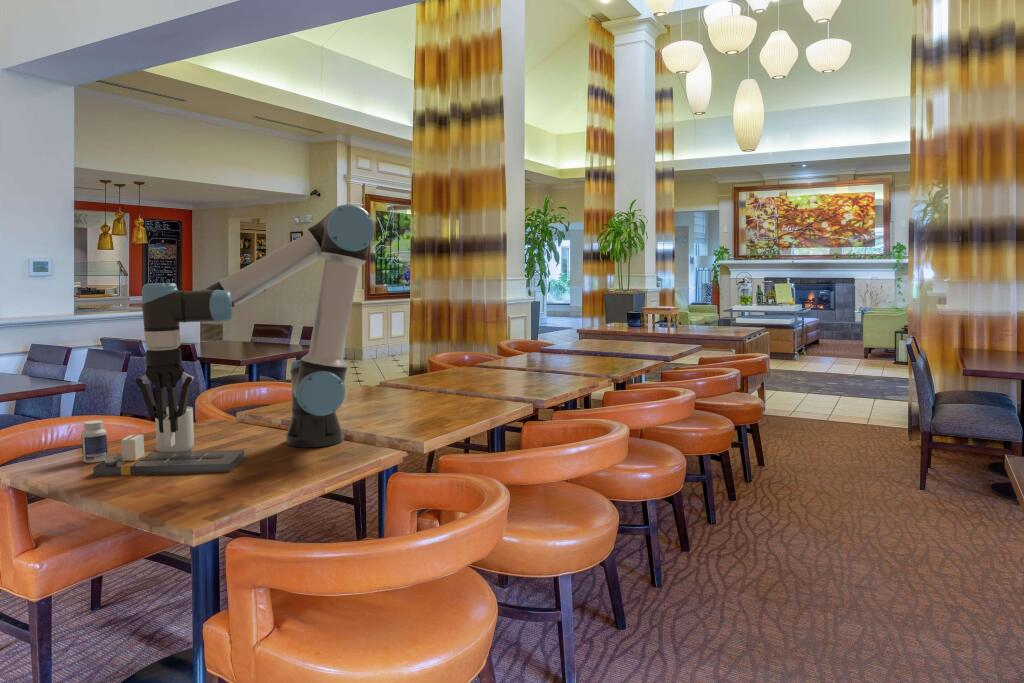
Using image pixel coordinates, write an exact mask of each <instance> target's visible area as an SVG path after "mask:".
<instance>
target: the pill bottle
mask: <svg viewBox="0 0 1024 683" xmlns="http://www.w3.org/2000/svg"><path fill="white" fill-rule="evenodd" d="M83 428H84V431H82V432H81V434H80V436H81V452H82V453H81V454H82V461H83V463H87V464H90V463H98V462H99V463H100V462H104V461H105V456H109V454H108V452H109V451H108V434H107V430H106V429H104V421H103V420H88V421H85V422H84V423H83Z"/></svg>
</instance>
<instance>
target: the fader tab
mask: <svg viewBox="0 0 1024 683" xmlns="http://www.w3.org/2000/svg"><path fill="white" fill-rule="evenodd" d="M144 436H145V435H144V434H130V435H128V436H126V437H124V438H123V439H121V442H120V444H121V453H122V461H129V460H137V459H139V458H140V457H142V456H143V455H144V452H145V440H144Z"/></svg>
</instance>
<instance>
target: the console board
mask: <svg viewBox="0 0 1024 683" xmlns="http://www.w3.org/2000/svg"><path fill="white" fill-rule="evenodd" d="M244 459H245V449H228V450H227V449H226V450H225V449H224V450H223V449H222V450H190V451H181V452H159V451H154V452H153V451H144V455H143V456H142V457H140V458H139V459H137V460H129V461H122V452H117V453H116V454H110V455H109V454H108V456H105V460H104V461H101V463H100V462H99V464H97V465H96V466H94V467H92V470H93V471H92V472H93V473H92V474H93V477H109V476H113V477H114V476H140V475H141V476H143V475H170V474H171V475H172V474H175V475H176V474H205V473H206V474H207V473H231V472H232V471H233V470H234V469H235V468H236V467H237V466H238V465H239V464H240V463H241V461H242V460H244Z"/></svg>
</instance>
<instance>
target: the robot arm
mask: <svg viewBox="0 0 1024 683" xmlns="http://www.w3.org/2000/svg"><path fill="white" fill-rule="evenodd" d="M375 230H376V228H375V222H374V219H373V218H372V215H370V213H369V212H368V211H367V210H365V208H363V207H361V206H358V205H356V204H341V205H338V206H336V207H334V209H332V210H331V211H330V212H328V213H327V214H326V215H325V216H324V217H323V218H321V220H319V221H317V222H316V223H315V224H314V225H312V226H310V227H308V228H306V229H305V230H304V231H305V232H304V235H301V236H300V237H298V238H296V239H295V240H293V241H291V242H289V243H287V244H285V245H283V246H282V247H279V248H277V249H276V250H274V251H272V252H270V253H269V254H267V255H265V256H263V257H261V258H259V259H257V260H256V261H254V262H252V263H250V264H248V265H247V266H244V267H242V268H241V269H239V270H237V271H236V272H234V273H232V274H230V275H228V276H227V277H224V278H222V279H221V280H219V281H218V282H215V283H213V284H211V285H210V286H207V287H205V288H204V289H201V290H189V291H188V290H179V289H178V286H177V284H176V283H175V282H172V283H171V282H167V283H166V282H164V283H163V282H161V283H160V282H159V283H158V282H156V283H155V282H154V283H145V284H144V285H143V286H142V288H141V307H142V320H143V331H144V347H145V348H146V349H147V350H146V351H145V361H146V362H145V363H146V370H145V371H144V375H142V376H140V377H139V378H136V379H135V380H134V381H135V383H136V385H137V386H138V387H139V389H140V391H141V395H142V398H143V400H144V403H145V406H146V408H147V412H148V415H149V417H150V418H152V419H153V418H154V419H155V418H157V419H158V420H159V431H160V433H164V446H165V447H172V446H173V445H174V444H175V434H174V432H176V431H178V417H180V416H182V415H184V414H185V413H186V408H187V406H188V403H189V397H190V391H191V386H192V384H193V382H194V381H195V379H196V377H195V375H190V374H188V373H186V372H185V371H186V370H185V369H184V367H183V364H182V362H183V360H182V349H181V348H180V346H181V333H180V332H181V331H180V323H201V322H202V323H203V322H216V323H219V322H224V321H231V320H232V319H233V308H235V307H236V306H238V305H240V304H241V303H244V302H245V301H247V300H249V299H251V298H252V297H254V296H256V295H258V294H260V293H262V292H263V291H266V290H267V289H269V288H271V287H272V286H275V285H276V284H278V283H279V282H281V281H283V280H286V279H287V278H289V277H291V276H292V275H294V274H296V273H298V272H299V271H302V270H304V269H305V268H307V267H309V266H311V265H312V264H315V263H316V262H318V261H323V262H324V265H323V270H322V276H321V283H320V288H319V294H318V298H317V304H316V310H315V315H314V321H313V326H312V327H313V328H312V333H311V338H310V344H309V348H308V353H307V354H305V355H304V356H302V357H301V359H298V360H294V361H292V363H291V364H290V365H291V366H290V371H289V372H290V377H291V380H290V381H291V382H290V383H291V412H292V413H291V417H290V420H289V421H290V422H289V424H288V425H289V426H288V429H287V432H286V436H285V439H286V440H285V441H286V442H285V443H286V445H288V446H291V447H295V448H320V447H321V448H323V447H328V446H329V447H330V446H333V445H337V444H340V443H341V442H342V441H343V440H344V438H343V437H344V435H343V430H342V426H341V423H340V421H339V418H338V415H337V412H336V411H337V410H338V409H339V408H340V407H341V406H342V404H343V403H344V401H345V398H346V386H345V380H346V375H347V369H348V365H347V363H346V361H345V360H344V358H343V357H344V352H345V348H346V341H347V335H348V329H349V324H350V318H351V313H352V308H353V303H354V302H353V301H354V296H355V291H356V286H357V281H358V280H357V279H358V274H359V269H360V267H361V266H362V265H364V264H366V263H367V258H368V254H369V253H368V252H369V247H370V244H371V243H372V241H373V239H374V236H375ZM181 379H182V380H181ZM180 381H182V386H181V391H180V396H179V400H178V394H177V390H178V385H177V384H179V382H180ZM150 382H151V384H152V385H153V386H154V392H155V398H154V394H153V390H152V388H151V385H150V384H149V383H150ZM166 392H167V397H166ZM155 399H156V401H155ZM166 399H167V400H166ZM167 405H168V406H167ZM177 406H178V407H177ZM166 407H169V418H166V417H167V416H168V415H167V412H166Z"/></svg>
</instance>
